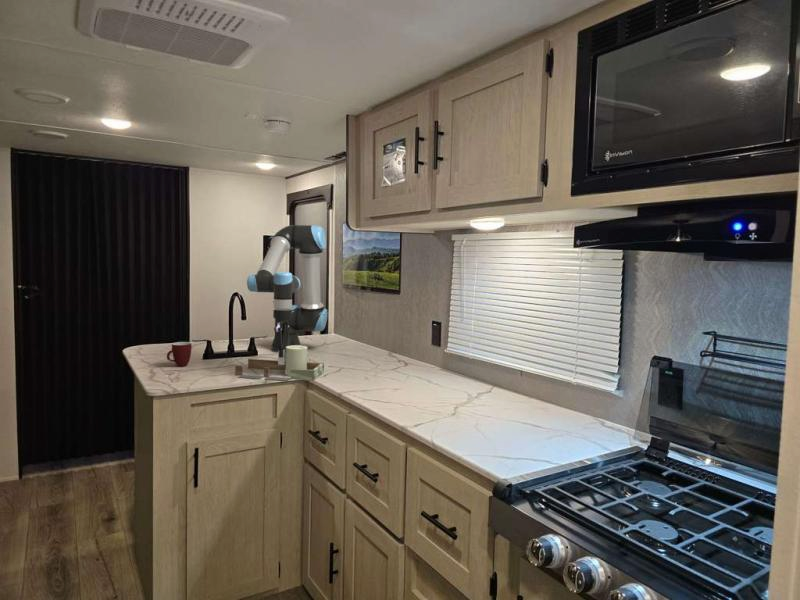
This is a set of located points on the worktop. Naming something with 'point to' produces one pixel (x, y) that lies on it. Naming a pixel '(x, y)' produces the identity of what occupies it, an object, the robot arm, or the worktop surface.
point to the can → (295, 358)
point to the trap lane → (309, 374)
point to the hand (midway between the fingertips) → (281, 364)
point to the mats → (265, 378)
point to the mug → (180, 353)
